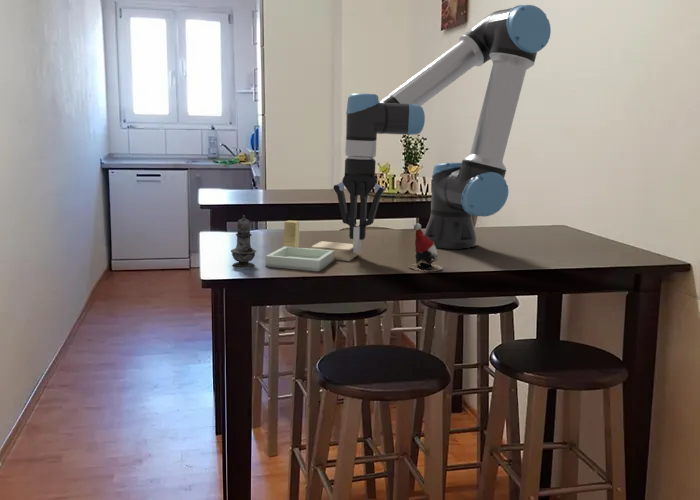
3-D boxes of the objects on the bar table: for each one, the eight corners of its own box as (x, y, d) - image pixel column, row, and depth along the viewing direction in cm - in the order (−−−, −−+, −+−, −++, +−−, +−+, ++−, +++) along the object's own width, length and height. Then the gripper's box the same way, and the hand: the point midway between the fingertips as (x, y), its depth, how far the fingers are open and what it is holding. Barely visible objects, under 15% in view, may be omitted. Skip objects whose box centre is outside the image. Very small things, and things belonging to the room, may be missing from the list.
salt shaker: (231, 262, 168) (231, 212, 165) (256, 263, 168) (257, 213, 166) (229, 268, 162) (229, 216, 160) (255, 268, 162) (256, 217, 160)
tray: (334, 260, 174) (334, 250, 174) (319, 271, 162) (319, 260, 161) (284, 256, 177) (284, 246, 177) (265, 266, 165) (265, 255, 165)
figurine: (459, 253, 169) (431, 224, 163) (438, 287, 167) (409, 259, 161) (436, 247, 176) (408, 219, 170) (416, 280, 174) (387, 253, 167)
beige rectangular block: (357, 255, 182) (358, 244, 182) (349, 261, 175) (349, 249, 174) (320, 252, 185) (321, 241, 184) (310, 258, 178) (311, 246, 177)
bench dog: (298, 251, 184) (299, 221, 182) (295, 253, 181) (295, 222, 179) (287, 250, 184) (288, 220, 183) (283, 252, 182) (284, 221, 180)
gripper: (389, 158, 176) (384, 251, 180) (338, 155, 179) (335, 247, 183) (383, 160, 169) (379, 256, 173) (330, 157, 172) (327, 252, 176)
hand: (356, 251), depth 178 cm, fingers closed
